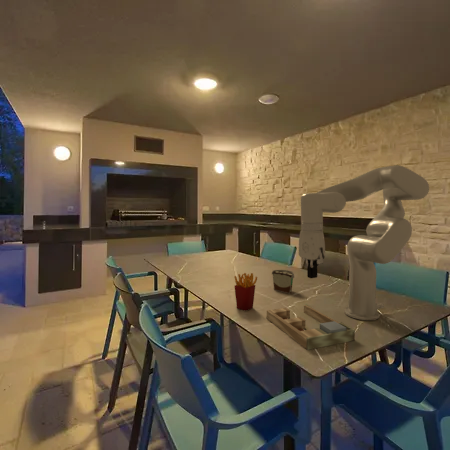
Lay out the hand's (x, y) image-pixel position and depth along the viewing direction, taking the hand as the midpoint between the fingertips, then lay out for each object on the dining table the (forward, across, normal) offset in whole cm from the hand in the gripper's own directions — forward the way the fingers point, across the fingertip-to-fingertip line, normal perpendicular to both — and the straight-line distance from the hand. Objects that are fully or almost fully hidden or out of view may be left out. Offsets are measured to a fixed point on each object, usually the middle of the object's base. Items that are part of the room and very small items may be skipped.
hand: (312, 277), depth 104 cm
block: (+17, +13, -2) cm, 21 cm away
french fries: (+17, -24, -17) cm, 34 cm away
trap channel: (+17, +3, -5) cm, 18 cm away
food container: (+18, -39, +12) cm, 45 cm away
